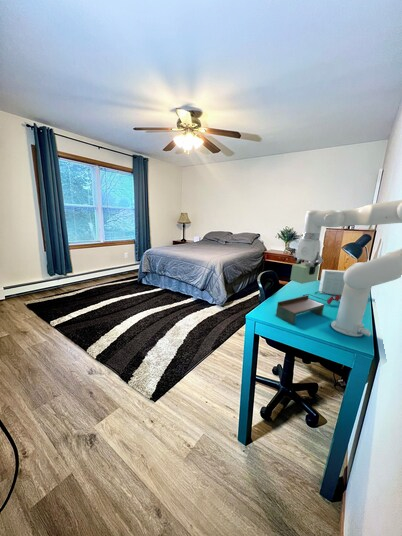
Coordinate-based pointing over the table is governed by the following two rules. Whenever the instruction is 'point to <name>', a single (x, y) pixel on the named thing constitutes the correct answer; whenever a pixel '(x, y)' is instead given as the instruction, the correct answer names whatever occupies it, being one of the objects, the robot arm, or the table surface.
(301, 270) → the tissue box
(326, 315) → the table surface
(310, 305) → the stand
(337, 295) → the glasses
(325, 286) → the skincare box
